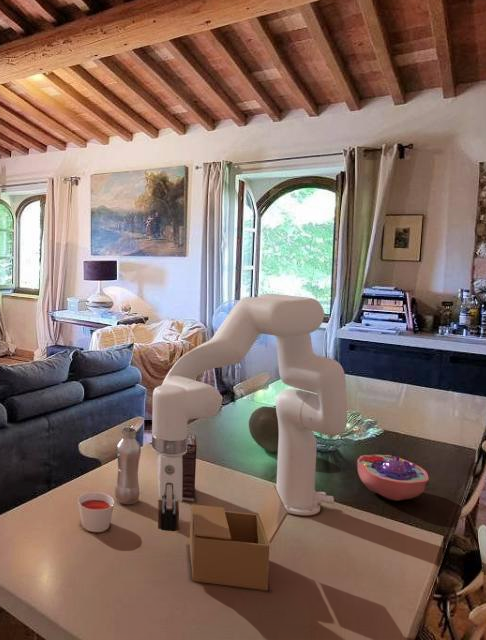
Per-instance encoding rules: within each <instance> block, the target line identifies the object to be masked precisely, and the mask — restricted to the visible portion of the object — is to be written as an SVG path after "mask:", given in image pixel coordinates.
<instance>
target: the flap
mask: <svg viewBox="0 0 486 640" xmlns="http://www.w3.org/2000/svg"><path fill="white" fill-rule="evenodd" d="M257 514H258V516H259V519H260V522H261V525H262V527H263V530H264V533H265V535H266V538H267V541H268V544H271V543H272V542H273V540H274V538H275V537H276V535H277V533H278V531H279V530H280V528H281V526H282V524H283V523H284V521H285V520H286V518H287V516H288V514H289V513H288V512H287V510H286V508H285V506H284V504H283V502H282V500H281V498H280V496H279V494H278V492H277V490H276V485H275V484H272V485H271V487H270V488H269V490H268V492H267V493H266V496H265V497H264V499H263V501H262V502H261V504H260V505H259V508H258V509H257Z"/></svg>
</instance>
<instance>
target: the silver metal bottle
mask: <svg viewBox="0 0 486 640" xmlns="http://www.w3.org/2000/svg"><path fill="white" fill-rule="evenodd" d="M136 438H137V430H136V428H133V427H123V428H122V429H121V439H120V440H119V442H118V443H117V446H116V457H117V477H116V485H115V488H114V493H115V494H114V495H115V498H116V500H117V501H118V502H119V503H121V504H124V505H133V504H135V503H137V501H138V500H139V498H140V493H141V492H140V485H139V465H140V458H141V453H142V448H141V445H140V443H139V442H138V440H137V439H136Z"/></svg>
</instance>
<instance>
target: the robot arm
mask: <svg viewBox="0 0 486 640" xmlns="http://www.w3.org/2000/svg"><path fill="white" fill-rule="evenodd" d="M324 319H325V311H324V307H323V306H322V304H321V303H320V301H319V300H317V299H315V298H312V297H306V296H296V295H289V294H288V295H287V294H279V293H278V294H277V293H264V294H259V295H258V296H246V297H243V298H241V299H239V300H238V301H237V302H236V303H235V304H234V306H233V307H232V309H231V310H230V311H229V313H228V314H227V316H226V317H225V319H224V320H223V322H222V323H221V324H220V326H219V327H218V329H217V330H216V331H215V333H214V335H213V336H212V337H211V338H210V339H208V341H206V342H203V343H202V344H199V345H197V346H196V347H194V348H193V349H191V350H189V351H188V352H186V353H184V354H183V355H182V356H180V357H179V358H178V359H177V360H176V361H175V363H174V364H173V365H172V367H171V368H170V369H169V371H168V373H167V374H166V376H165V378H164V379H163V381H162V384H161V385H158V386H156V387H155V388H154V389H153V391H152V406H151V407H152V419H151V423H152V424H151V450H152V451H153V452H154V453H155V454H157V459H156V460H157V463H156V464H157V465H156V467H157V487H158V497H159V500H162V511H161V529H160V530H161V531H167V532H177V531H176V512H175V502H176V501H178V503H181V502H183V500H182V478H183V461H182V455H184V454H186V453H187V434H188V426H189V425H188V423H189V420H199V419H201V420H202V419H209V418H212V417H214V416H215V415H216V414H217V413H218V412H219V411H220V409H221V408H222V405H223V397H222V395H221V393H220V391H219V389H217V388H216V387H215V386H213V385H211V384H208V383H205V382H202V381H198V380H195V379H196V378H197V377H198V376H200V375H201V374H203V373H204V372H206V371H210V370H213V369H218V368H223V367H228V366H233V365H237V364H239V363H242V362H243V361H244V359H245V357H246V356H247V355H248V354H249V351H250V350H251V348H252V347H253V346H254V344H255V343H256V342H257V339H258V338H259V337H260V336H261V335H269V336H274V338H275V341H276V342H275V343H276V351H277V363H278V364H277V365H278V373H279V378H280V380H281V382H282V383H283V384H285V385H286V386H287V387H291V388H287V389H284V390H282V391H281V392H280V393H279V394H278V395H277V397H276V400H275V408H276V412H277V418H278V427H279V440H278V452H277V465H276V466H277V467H276V484H275V488H276V490H277V492H278V494H279V496H280V498H281V500H282V502H283V504H284V506H285V508H286V510H287V512H288V514H292V515H297V516H304V517H305V516H314V515H317V514H318V513H320V511H321V504H322V503H326V504H333V505H334V503H335V497H334V496H333V495H327V493H326V491H325V492H324V491H317V490H316V469H317V452H318V443H317V439H316V437H315V434H314V432H315V433H318V434H321V435H325V436H330V437H336V436H339V435H341V434H342V433H344V431H345V429H346V426H347V423H348V402H347V401H348V400H347V386H346V385H347V383H346V382H347V381H346V375H345V371H344V368H343V367H342V364H341V363H340V362H338V360H336V359H333V358H331V357H326V356H320V355H317V354H315V353H314V351H313V343H312V342H313V341H312V335H311V334H312V333H314V332H316V331H318V329H319V328H320V327H321V326H322V324H323V321H324ZM165 502H166V505H165ZM172 502H173V505H172Z"/></svg>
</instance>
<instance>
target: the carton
mask: <svg viewBox="0 0 486 640" xmlns="http://www.w3.org/2000/svg"><path fill="white" fill-rule="evenodd" d="M189 520H190V521H189V523H190V524H189V555H190V565H191V575H192V576H191V577H192V581H193V582H198V583H206V584H214V585H222V586H230V587H238V588H245V589H246V588H247V589H253V590H261V591H262V590H263V591H268V589H269V588H268V585H269V567H270V564H269V563H270V543H269V541H268V538H267V536H266V533H265V530H264V528H263V525H262V522H261V520H260V517H259V514H258V513H247V512H238V511H229V510H225V507H221V506H211V505H201V504H193V503H192V504H190V519H189Z"/></svg>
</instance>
